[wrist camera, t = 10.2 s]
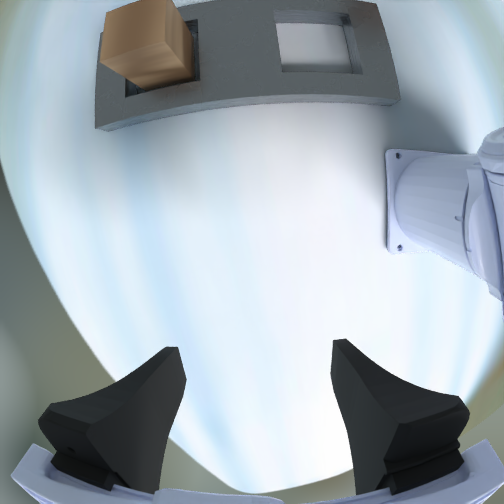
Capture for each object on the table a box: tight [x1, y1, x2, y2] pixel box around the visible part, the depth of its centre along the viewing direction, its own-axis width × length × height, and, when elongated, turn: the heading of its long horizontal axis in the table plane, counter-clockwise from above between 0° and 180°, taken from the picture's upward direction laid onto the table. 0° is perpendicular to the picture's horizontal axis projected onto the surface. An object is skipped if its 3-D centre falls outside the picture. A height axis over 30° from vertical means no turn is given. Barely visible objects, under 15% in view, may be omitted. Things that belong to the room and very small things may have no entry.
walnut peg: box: [100, 0, 195, 91], centre depth 14 cm, size 4×4×7 cm
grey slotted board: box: [95, 0, 401, 131], centre depth 16 cm, size 22×9×2 cm, turn 95°
